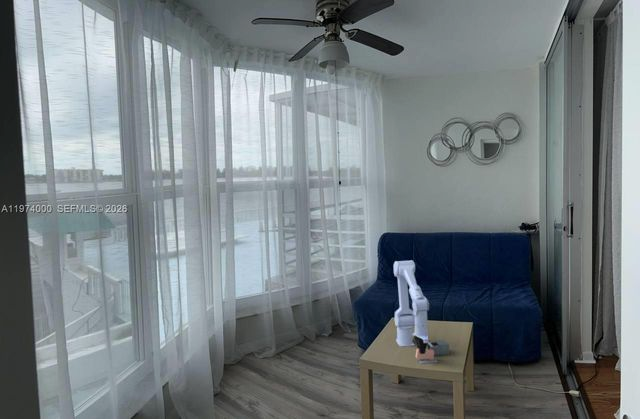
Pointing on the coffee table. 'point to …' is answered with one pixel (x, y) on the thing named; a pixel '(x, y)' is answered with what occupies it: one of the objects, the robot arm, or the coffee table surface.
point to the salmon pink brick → (428, 354)
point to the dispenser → (439, 347)
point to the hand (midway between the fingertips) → (421, 352)
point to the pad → (427, 360)
